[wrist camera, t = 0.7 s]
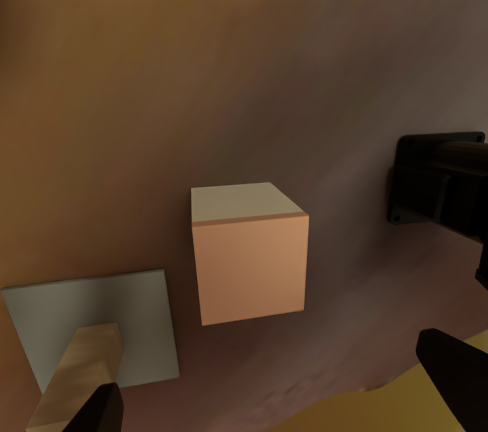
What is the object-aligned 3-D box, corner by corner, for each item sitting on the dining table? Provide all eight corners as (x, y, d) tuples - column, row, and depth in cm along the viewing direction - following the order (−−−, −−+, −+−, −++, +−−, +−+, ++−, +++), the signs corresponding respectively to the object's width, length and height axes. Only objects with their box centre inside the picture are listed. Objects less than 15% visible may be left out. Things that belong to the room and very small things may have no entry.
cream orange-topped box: (269, 182, 19) (309, 215, 12) (269, 251, 20) (303, 310, 14) (191, 188, 18) (191, 227, 12) (198, 259, 20) (202, 325, 13)
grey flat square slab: (164, 268, 19) (151, 346, 13) (180, 374, 23) (176, 476, 16) (3, 287, 18) (-104, 387, 11) (47, 397, 21) (-16, 522, 15)
